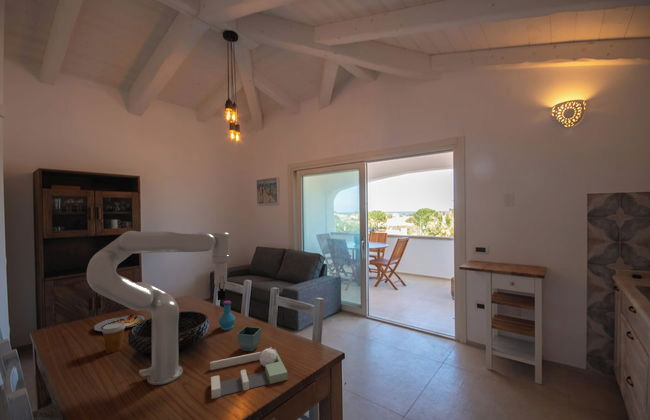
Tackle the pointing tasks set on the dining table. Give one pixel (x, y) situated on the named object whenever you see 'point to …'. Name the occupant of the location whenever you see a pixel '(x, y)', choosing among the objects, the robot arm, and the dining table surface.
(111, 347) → the disposable coffee cup
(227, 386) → the u-shaped rail frame
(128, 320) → the food plate
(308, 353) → the dining table surface
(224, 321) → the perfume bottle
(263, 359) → the ornament
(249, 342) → the flower pot
